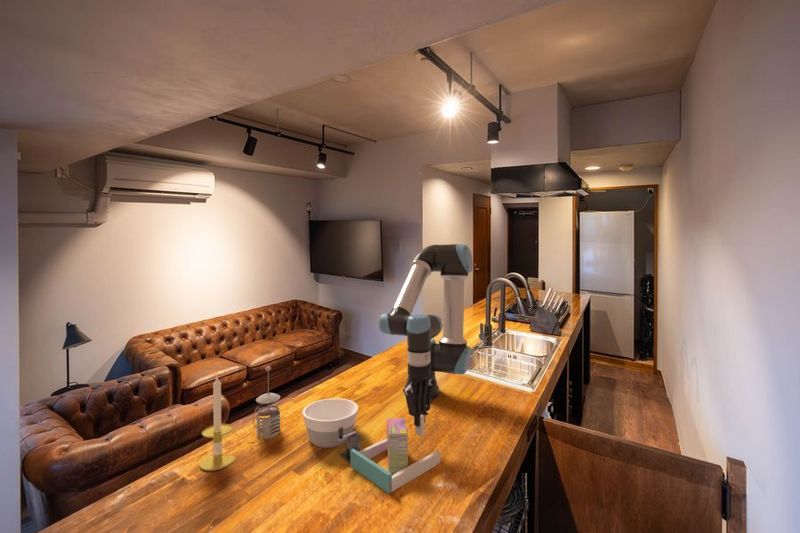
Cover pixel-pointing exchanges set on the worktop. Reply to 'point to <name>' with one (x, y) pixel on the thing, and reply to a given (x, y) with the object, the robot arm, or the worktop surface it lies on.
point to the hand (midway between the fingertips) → (419, 434)
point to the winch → (349, 442)
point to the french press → (268, 413)
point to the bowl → (329, 420)
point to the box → (397, 444)
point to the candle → (216, 435)
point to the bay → (382, 476)
